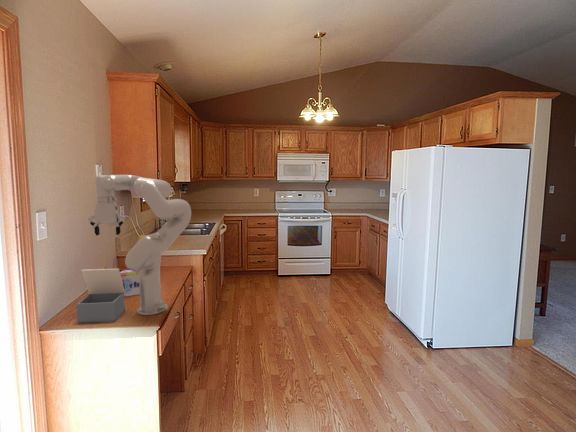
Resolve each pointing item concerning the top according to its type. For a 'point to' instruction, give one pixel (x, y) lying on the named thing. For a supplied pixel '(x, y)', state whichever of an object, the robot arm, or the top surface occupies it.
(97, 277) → the carton flap
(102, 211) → the robot arm
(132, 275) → the gum box
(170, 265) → the top surface
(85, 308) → the carton
